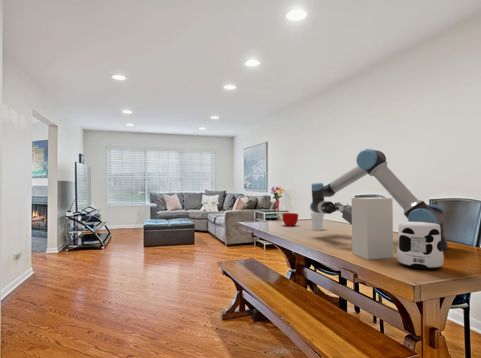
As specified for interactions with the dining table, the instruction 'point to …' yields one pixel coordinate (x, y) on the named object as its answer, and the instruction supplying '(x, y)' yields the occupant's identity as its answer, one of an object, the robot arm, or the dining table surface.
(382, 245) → the pillar
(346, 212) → the plug
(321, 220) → the foam cup
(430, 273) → the dining table surface
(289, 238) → the dining table surface
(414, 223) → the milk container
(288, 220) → the ceramic cup
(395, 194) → the robot arm
